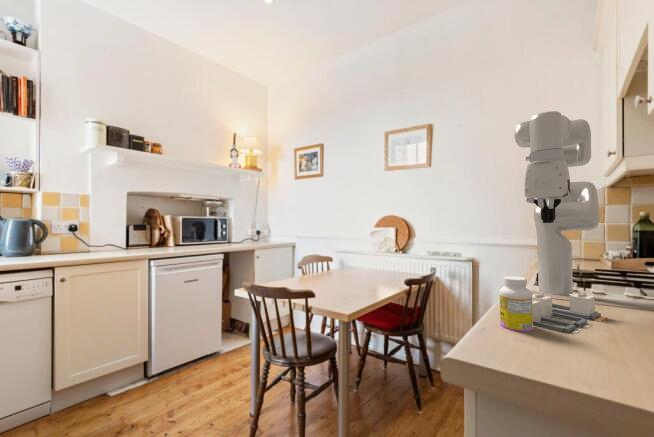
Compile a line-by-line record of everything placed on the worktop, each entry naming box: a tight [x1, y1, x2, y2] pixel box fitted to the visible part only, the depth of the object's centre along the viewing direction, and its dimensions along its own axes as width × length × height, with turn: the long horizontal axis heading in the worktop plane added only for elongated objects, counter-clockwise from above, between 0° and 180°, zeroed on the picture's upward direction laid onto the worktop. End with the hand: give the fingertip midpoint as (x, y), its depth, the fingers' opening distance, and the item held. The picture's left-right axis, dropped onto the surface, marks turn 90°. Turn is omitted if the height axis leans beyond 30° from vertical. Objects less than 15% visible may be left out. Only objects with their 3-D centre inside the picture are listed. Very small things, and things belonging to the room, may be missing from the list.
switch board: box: [532, 300, 608, 335], centre depth 80 cm, size 22×15×7 cm
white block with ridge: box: [532, 292, 553, 318], centre depth 82 cm, size 4×4×6 cm
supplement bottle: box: [499, 275, 534, 333], centre depth 74 cm, size 7×7×13 cm
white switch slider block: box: [569, 292, 596, 316], centre depth 81 cm, size 4×4×6 cm
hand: (548, 222), depth 89 cm, fingers closed
